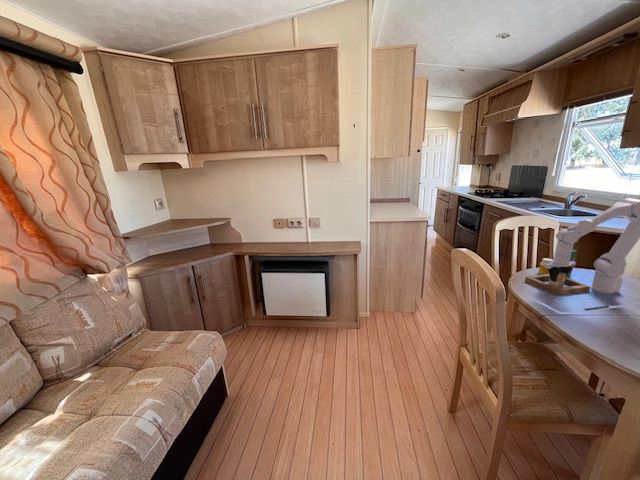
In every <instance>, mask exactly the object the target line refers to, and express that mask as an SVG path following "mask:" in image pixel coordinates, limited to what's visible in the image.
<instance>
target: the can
mask: <svg viewBox="0 0 640 480" xmlns="http://www.w3.org/2000/svg"><path fill="white" fill-rule="evenodd" d="M577 251H578V250H577V249H574V248H573V249H572V253H571V257H570V261H573V262H575V259H576V255H577ZM570 267H572V268H573V267H574V266H570ZM557 268H558V267H557ZM573 269H574V268H573ZM572 271H573V270H572ZM572 271H571V272H569V273H568V275H567V276H566V277H570V276H572Z"/></svg>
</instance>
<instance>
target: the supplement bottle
mask: <svg viewBox="0 0 640 480" xmlns="http://www.w3.org/2000/svg"><path fill="white" fill-rule="evenodd" d="M551 260H553V259H552V258H547V257H545V258H542V260H541V262H540V264H539V268H538V272H537V273H538V275H544V274H549V271H548V269H547V268H545V264H547V263H550V262H551Z"/></svg>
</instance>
